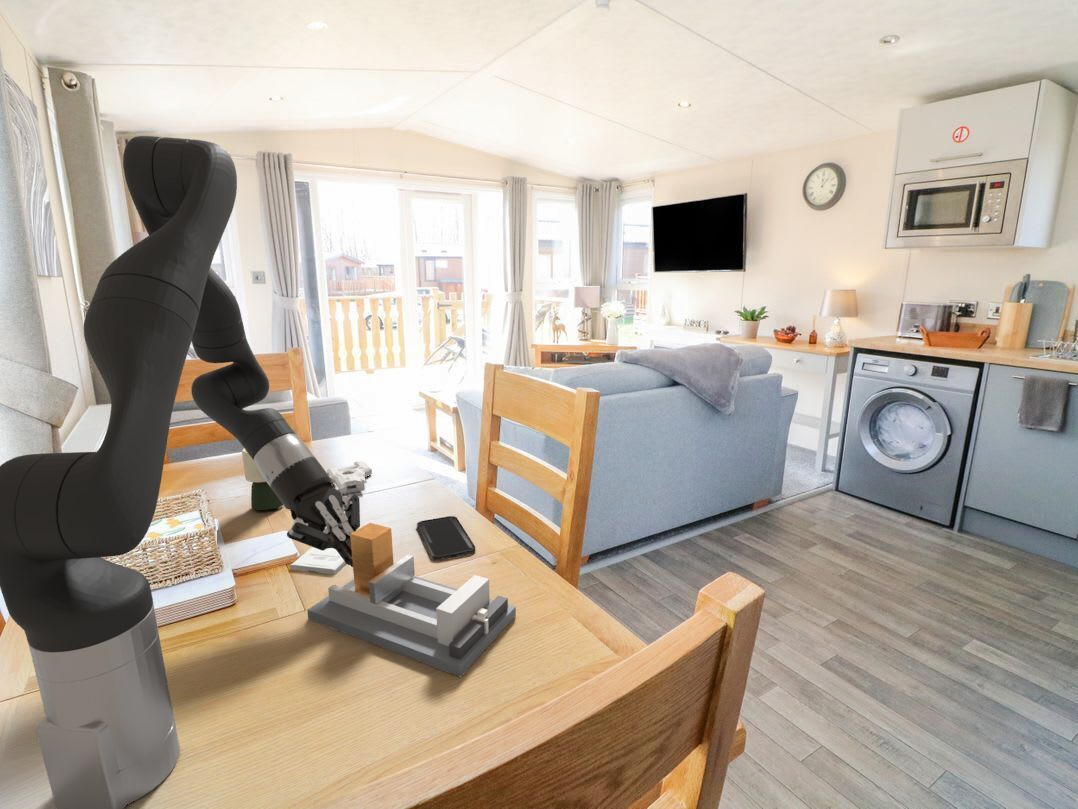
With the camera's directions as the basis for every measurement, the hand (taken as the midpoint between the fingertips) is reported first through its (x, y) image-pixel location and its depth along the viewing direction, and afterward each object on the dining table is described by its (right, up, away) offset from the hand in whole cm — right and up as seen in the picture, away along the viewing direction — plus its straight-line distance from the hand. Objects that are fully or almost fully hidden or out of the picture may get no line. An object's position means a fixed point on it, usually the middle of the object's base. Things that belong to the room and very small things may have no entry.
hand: (359, 562), depth 84 cm
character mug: (-30, +2, +34) cm, 45 cm away
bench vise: (+8, -7, -2) cm, 11 cm away
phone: (+9, -2, +21) cm, 23 cm away
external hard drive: (-10, -4, +16) cm, 19 cm away
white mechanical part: (-17, +5, +49) cm, 52 cm away
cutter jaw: (+3, -5, 0) cm, 6 cm away
